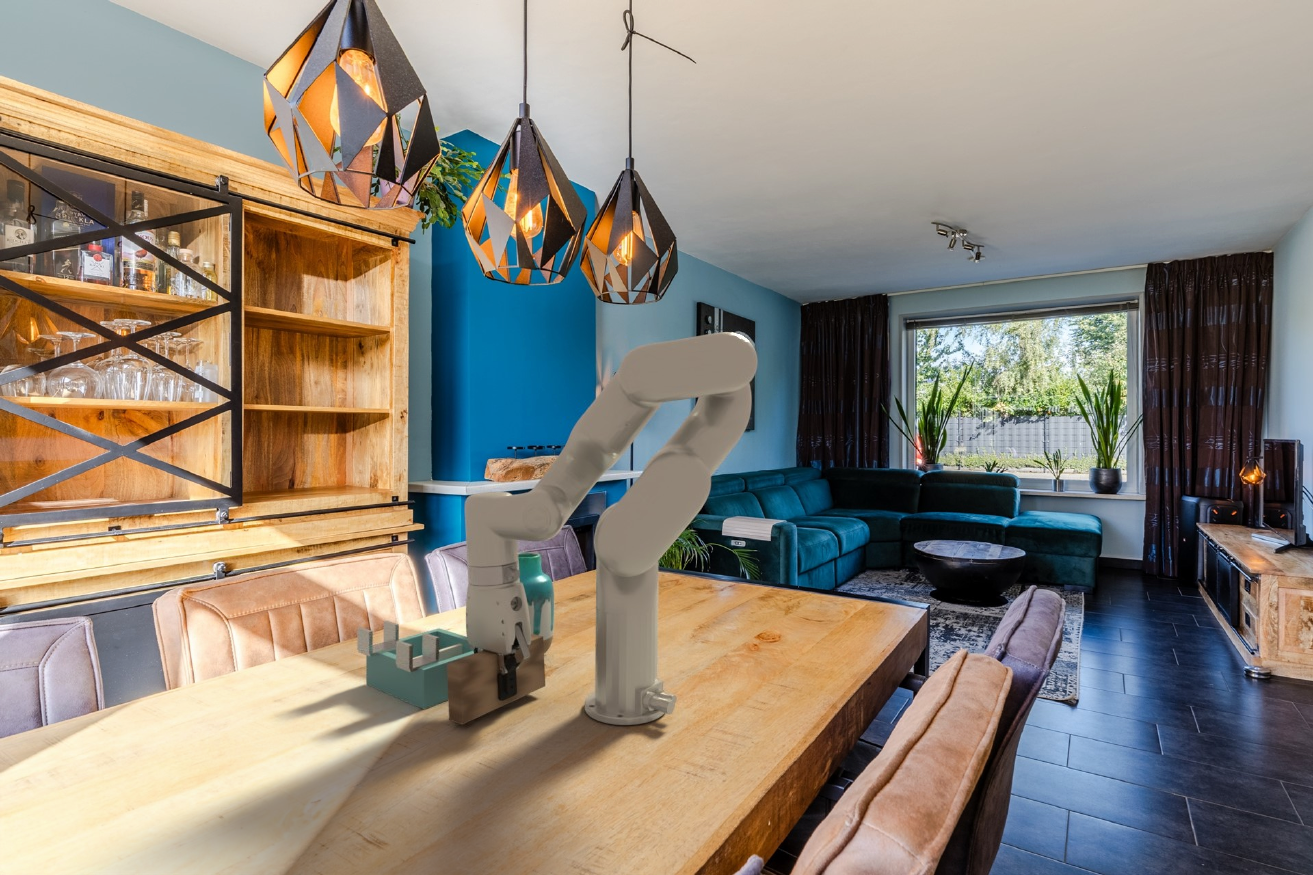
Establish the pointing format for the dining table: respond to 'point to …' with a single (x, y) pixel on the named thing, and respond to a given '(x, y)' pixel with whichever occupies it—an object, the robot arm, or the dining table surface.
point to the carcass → (423, 683)
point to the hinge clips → (399, 647)
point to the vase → (538, 596)
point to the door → (490, 681)
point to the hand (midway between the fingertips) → (499, 693)
